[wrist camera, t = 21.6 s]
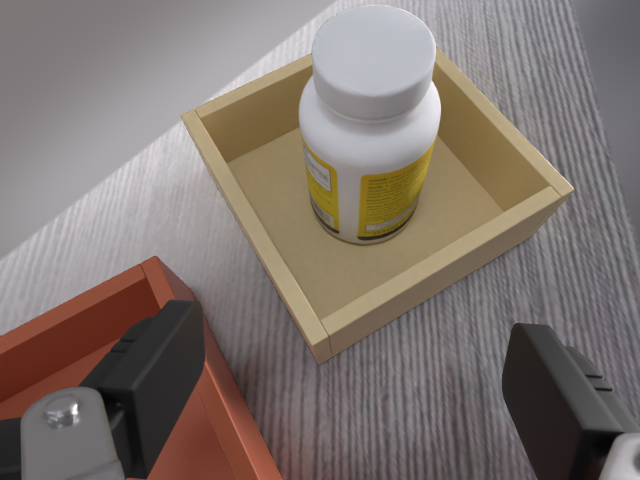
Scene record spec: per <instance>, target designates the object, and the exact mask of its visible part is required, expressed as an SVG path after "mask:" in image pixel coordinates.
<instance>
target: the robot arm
mask: <svg viewBox="0 0 640 480" xmlns="http://www.w3.org/2000/svg"><path fill="white" fill-rule="evenodd" d="M204 363H205V340H204V327H203V315H202V307H201V304H200V302H199V301H191V300H176V299H170V300H169V301H168V302H167V303H166V304H165V305H164V306H163V308H162V309H161V310H160V311H159V312H158V314H157V315H156V316H155V317H149V316H148V317H146V318H144V319H143V320H141V321H139V322H138V323H136V324H134V325H133V326H131V327H130V328H129V329H128V330H127V331H126V332H125V334H124V335H123V336H122V337H121V338H120V341H119V342H117V343H116V344H115V345H114V346H113V347H112V348H111V349H110V352H108V353H107V354H106V355H105V356H104V357H103V358H102V359H101V361H100V362H99V363H98V364H97V365H96V366H95V367H94V368H93V370H92V371H91V372H90V373H89V374H88V375H87V376H86V377H85V379H84V380H83V381H82V382H81V383H80V384H79V385H78V386H77V387H71V388H66V389H62V390H58V391H55V392H53V393H51V394H48V395H46V396H44V397H43V398H41V399H39V400H38V401H36V402H35V403H34V404H33V405H31V406H30V407H29V408H28V409H27V411H26V412H25V413H24V415H23V417H19V418H12V419H6V420H0V480H126V479H127V478H135V479H146V480H147V478H148V476H149V474H150V472H151V470H152V468H153V466H154V464H155V463H156V461H157V459H158V457H159V455H160V453H161V451H162V449H163V447H164V445H165V443H166V442H167V440H168V438H169V436H170V434H171V432H172V430H173V428H174V426H175V424H176V422H177V420H178V419H179V417H180V415H181V413H182V411H183V409H184V407H185V405H186V403H187V401H188V399H189V398H190V396H191V394H192V392H193V390H194V388H195V386H196V384H197V382H198V380H199V378H200V377H201V374H202V372H203V368H204ZM502 392H503V397H504V400H505V403H506V405H507V408H508V410H509V413H510V415H511V417H512V420H513V422H514V424H515V427H516V429H517V432H518V434H519V436H520V439H521V441H522V444H523V446H524V448H525V451H526V453H527V456H528V458H529V460H530V463H531V465H532V467H533V470H534V472H535V475H536V477H537V479H538V480H640V424H639V423H638V422H637V420H636V419H635V418H634V417H633V415H632V414H631V413H630V411H629V410H628V409H627V407H626V406H625V405H624V404H623V402H622V401H621V400H620V398H619V397H618V396H617V394H616V393H615V392H612V388H611V387H610V385H609V384H608V383H607V381H606V380H605V379H602V375H601V374H600V372H599V371H598V370H597V368H596V367H595V366H594V364H593V363H592V362H591V361H590V360H589V359H588V358H586V357H585V356H584V355H582V354H581V353H579V352H578V351H577V350H575V349H574V348H572V347H566V346H564V345H563V344H562V342H561V341H560V340H559V338H558V337H557V335H556V334H555V333H554V331H553V330H552V328H551V327H550V326H548V325H539V324H524V323H516V324H515V325H514V326H513V328H512V331H511V335H510V340H509V345H508V350H507V354H506V359H505V364H504V369H503V374H502Z"/></svg>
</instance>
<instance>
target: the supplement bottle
mask: <svg viewBox="0 0 640 480" xmlns="http://www.w3.org/2000/svg"><path fill="white" fill-rule="evenodd" d="M435 58H436V45H435V40H434V38H433V35H432V33H431V31H430V30H429V29H428V27H427V26H426V25H425V24H424V23H423V22H422V21H421V20H420V19H419V18H417V17H416V16H415V15H413V14H411V13H409V12H407V11H405V10H403V9H399V8H396V7H392V6H387V5H378V4H374V5H362V6H356V7H353V8H349V9H346V10H344V11H342V12H340V13H337V14H336V15H334V16H333V17H331V18H330V19H329V20H327V21H326V22H325V23H324V24H323V25H322V27H321V28H320V29H319V31H318V32H317V34H316V36H315V38H314V41H313V45H312V69H313V75H312V77H311V78H310V79H309V81H308V82H307V84H306V86H305V88H304V90H303V92H302V96H301V99H300V104H299V124H300V132H301V138H302V145H303V152H304V159H305V166H306V173H307V179H308V186H309V193H310V200H311V204H312V208H313V210H314V213H315V215H316V217H317V219H318V220H319V222H320V223H321V225H322V226H323V227H324V228H325V229H326V230H327V231H328V232H330V233H331V234H332V235H334V236H336V237H338V238H340V239H342V240H345V241H348V242H352V243H358V244H370V243H376V242H381V241H384V240H387V239H389V238H391V237H393V236H394V235H396V234H397V233H399V232H400V231H401V230H402V229H403V228H404V227H405V226H406V225H407V224H408V222H409V221H410V219H411V218H412V216H413V214H414V211H415V209H416V206H417V203H418V199H419V196H420V193H421V189H422V186H423V183H424V179H425V176H426V172H427V168H428V165H429V161H430V158H431V154H432V150H433V147H434V143H435V139H436V136H437V133H438V128H439V123H440V116H441V103H440V98H439V95H438V91H437V89H436V87H435V85H434V83H433V82H432V73H433V68H434V63H435Z"/></svg>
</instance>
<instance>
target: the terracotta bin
mask: <svg viewBox="0 0 640 480" xmlns="http://www.w3.org/2000/svg"><path fill="white" fill-rule="evenodd" d="M170 299H176V300H191V301H196V299H195V297H194V295H193V292H192V290H191V289H190V288H189V287H188V286H187V285H186V284H185V283H184V282H183V281H182V280H181V279H180V278H179V277H177V276H176V275H175V274H174V273H173V272H172V271H171V270H170V269H169V268H168V267H167V266H166V265H165V264H164V263H163V262H162V261H161V260H160V259H159V258H158V257H157V256H153V257H151V258H150V259H148V260H146V261H144V262H142V263H141V264H138V265H136V266H134V267H132V268H130V269H128V270H126V271H124V272H122V273H121V274H119V275H117V276H115V277H113V278H111V279H109V280H107V281H105V282H103V283H101V284H100V285H98V286H96V287H94V288H92V289H90V290H88V291H86V292H84V293H82V294H80V295H78V296H77V297H75V298H73V299H71V300H69V301H67V302H65V303H63V304H61V305H59V306H57V307H56V308H54V309H52V310H50V311H48V312H46V313H44V314H42V315H40V316H38V317H36V318H35V319H33V320H31V321H29V322H27V323H25V324H23V325H21V326H19V327H17V328H15V329H14V330H12V331H10V332H8V333H6V334H4V335H2V336H0V420H6V419H12V418H19V417H23V415H24V413H25V412H26V411H27V409H28V408H29V407H30V406H31V405H33V404H34V403H35V402H36V401H38V400H39V399H41V398H43V397H44V396H46V395H48V394H51V393H53V392H55V391H58V390H62V389H66V388H71V387H77V386H78V385H79V384H80V383H81V382H82V381H83V380H84V379H85V377H86V376H87V375H88V374H89V373H90V372H91V371H92V370H93V368H94V367H95V366H96V365H97V364H98V363H99V362H100V361H101V359H102V358H103V357H104V356H105V355H106V354H107V353H108V352H110V349H111V348H112V347H113V346H114V345H115V344H116V343H117V342H119V341H120V338H121V337H122V336H123V335H124V334H125V332H126V331H127V330H128V329H129V328H130V327H131V326H133V325H134V324H136V323H138V322H139V321H141V320H143V319H144V318H146V317H148V316H149V317H155V316H156V315H157V314H158V312H159V311H160V310H161V309H162V308H163V306H164V305H165V304H166V303H167V302H168V301H169V300H170ZM202 315H203V313H202ZM203 327H204V340H205V363H204V368H203V372H202V374H201V377H200V378H199V380H198V382H197V384H196V386H195V388H194V390H193V392H192V394H191V396H190V398H189V399H188V401H187V403H186V405H185V407H184V409H183V411H182V413H181V415H180V417H179V419H178V420H177V422H176V424H175V426H174V428H173V430H172V432H171V434H170V436H169V438H168V440H167V442H166V443H165V445H164V447H163V449H162V451H161V453H160V455H159V457H158V459H157V461H156V463H155V464H154V466H153V468H152V470H151V472H150V474H149V476H148V478H147V480H283V479H282V477H281V475H280V473H279V471H278V469H277V467H276V464H275V462H274V460H273V458H272V456H271V454H270V452H269V450H268V448H267V446H266V444H265V442H264V440H263V438H262V435H261V433H260V431H259V429H258V427H257V425H256V423H255V421H254V419H253V417H252V415H251V413H250V411H249V409H248V406H247V404H246V402H245V400H244V398H243V396H242V394H241V392H240V390H239V388H238V386H237V384H236V382H235V380H234V377H233V375H232V373H231V371H230V369H229V367H228V365H227V363H226V361H225V359H224V357H223V355H222V353H221V350H220V348H219V346H218V344H217V342H216V340H215V338H214V336H213V334H212V332H211V330H210V328H209V326H208V324H207V321H206V319H205V317H204V315H203ZM126 480H146V479H135V478H127V479H126Z"/></svg>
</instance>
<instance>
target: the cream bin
mask: <svg viewBox="0 0 640 480" xmlns="http://www.w3.org/2000/svg"><path fill="white" fill-rule="evenodd" d="M312 75H313V69H312V53H311V54H309V55H307V56H305V57H302V58H300V59H298V60H296V61H294V62H292V63H290V64H288V65H285V66H283V67H281V68H279V69H277V70H275V71H273V72H271V73H269V74H266V75H264V76H262V77H260V78H258V79H256V80H254V81H252V82H250V83H247V84H245V85H243V86H241V87H239V88H237V89H235V90H233V91H231V92H228V93H226V94H224V95H222V96H220V97H218V98H216V99H214V100H211V101H209V102H207V103H205V104H203V105H201V106H199V107H197V108H195V109H192V110H190V111H188V112H186V113H184V114H182V115H181V118H182V120H183V122H184V124H185V126H186V128H187V130H188V132H189V134H190V136H191V138H192V140H193V142H194V144H195V146H196V148H197V150H198V152H199V154H200V155H201V157H202V159H203V161H204V163H205V165H206V167H207V169H208V171H209V173H210V175H211V176H212V178H213V180H214V182H215V183H216V185H217V187H218V189H219V190H220V192H221V194H222V196H223V197H224V199H225V201H226V203H227V205H228V206H229V208H230V210H231V212H232V213H233V215H234V217H235V219H236V220H237V222H238V224H239V226H240V227H241V229H242V231H243V233H244V234H245V236H246V238H247V240H248V242H249V243H250V245H251V247H252V249H253V250H254V252H255V254H256V256H257V257H258V259H259V261H260V263H261V264H262V266H263V268H264V270H265V271H266V273H267V275H268V277H269V279H270V280H271V282H272V284H273V286H274V287H275V289H276V291H277V293H278V294H279V296H280V298H281V300H282V301H283V303H284V305H285V307H286V308H287V310H288V312H289V314H290V316H291V317H292V319H293V321H294V323H295V324H296V326H297V328H298V330H299V331H300V333H301V335H302V337H303V338H304V340H305V342H306V344H307V345H308V347H309V349H310V351H311V353H312V354H313V356H314V358H315V360H316V361H317V363H318V365H320V364H322V363H323V362H325V361H327V360H328V359H330V358H332V357H333V356H335V355H336V354H338V353H340V352H341V351H343V350H345V349H346V348H348V347H350V346H351V345H353V344H355V343H356V342H358V341H360V340H361V339H363V338H365V337H366V336H368V335H370V334H371V333H373V332H374V331H376V330H378V329H379V328H381V327H383V326H384V325H386V324H388V323H389V322H391V321H393V320H394V319H396V318H398V317H399V316H401V315H403V314H404V313H406V312H407V311H409V310H411V309H412V308H414V307H416V306H417V305H419V304H421V303H422V302H424V301H426V300H427V299H429V298H431V297H432V296H434V295H436V294H437V293H439V292H441V291H442V290H444V289H445V288H447V287H449V286H450V285H452V284H454V283H455V282H457V281H459V280H460V279H462V278H464V277H465V276H467V275H469V274H470V273H472V272H474V271H475V270H477V269H479V268H480V267H482V266H483V265H485V264H487V263H488V262H490V261H492V260H493V259H495V258H497V257H498V256H500V255H502V254H503V253H505V252H507V251H508V250H510V249H512V248H513V247H515V246H516V245H518V244H520V243H521V242H523V241H525V240H526V239H528V238H530V237H531V236H533V235H534V234H535V232H536V231H537V230H538V229H539V228H540V227H541V226H542V225H543V224H544V223H545V221H546V220H547V219H548V218H549V217H550V216H551V215H552V214H553V213H554V212H555V211H556V210H557V208H558V207H559V206H560V205H561V204H562V203H563V202H564V201H565V200H566V199H567V198H568V196H569V195H570V194H571V193H572V192H573V191H574V188H573V187H572V186H571V185H570V184H569V183H568V182H567V181H566V180H565V179H564V178H563V177H562V176H561V175H560V174H559V173H558V172H557V171H556V169H555V168H554V167H553V166H552V165H551V164H550V163H549V162H548V161H547V160H546V159H545V158H544V157H543V156H542V155H541V154H540V153H539V152H538V151H537V150H536V149H535V148H534V147H533V146H532V145H531V144H530V143H529V142H528V140H527V139H526V138H525V137H524V136H523V135H522V134H521V133H520V132H519V131H518V130H517V129H516V128H515V127H514V126H513V125H512V124H511V123H510V122H509V121H508V120H507V119H506V118H505V117H504V116H503V115H502V114H501V112H500V111H499V110H498V109H497V108H496V107H495V106H494V105H493V104H492V103H491V102H490V101H489V100H488V99H487V98H486V97H485V96H484V95H483V94H482V93H481V92H480V91H479V90H478V89H477V88H476V87H475V86H474V84H473V83H472V82H471V81H470V80H469V79H468V78H467V77H466V76H465V75H464V74H463V73H462V72H461V71H460V70H459V69H458V68H457V67H456V66H455V65H454V64H453V63H452V62H451V61H450V60H449V59H448V58H447V56H446V55H445V54H444V53H443V52H442V51H441V50H440V49H439V48H438V47H437V46H436V58H435V63H434V68H433V73H432V82H433V83H434V85H435V87H436V89H437V91H438V95H439V98H440V103H441V116H440V123H439V128H438V133H437V136H436V139H435V143H434V147H433V150H432V154H431V158H430V161H429V165H428V168H427V172H426V176H425V179H424V183H423V186H422V189H421V193H420V196H419V199H418V203H417V206H416V209H415V211H414V214H413V216H412V218H411V219H410V221H409V222H408V224H407V225H406V226H405V227H404V228H403V229H402V230H401V231H400V232H399V233H397V234H396V235H394V236H393V237H391V238H389V239H387V240H384V241H381V242H376V243H370V244H358V243H352V242H348V241H345V240H342V239H340V238H338V237H336V236H334V235H332V234H331V233H330V232H328V231H327V230H326V229H325V228H324V227H323V226H322V225H321V223H320V222H319V220H318V219H317V217H316V215H315V213H314V210H313V208H312V204H311V200H310V193H309V186H308V179H307V173H306V166H305V159H304V152H303V145H302V138H301V132H300V124H299V104H300V99H301V96H302V92H303V90H304V88H305V86H306V84H307V82H308V81H309V79H310V78H311V77H312Z"/></svg>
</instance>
